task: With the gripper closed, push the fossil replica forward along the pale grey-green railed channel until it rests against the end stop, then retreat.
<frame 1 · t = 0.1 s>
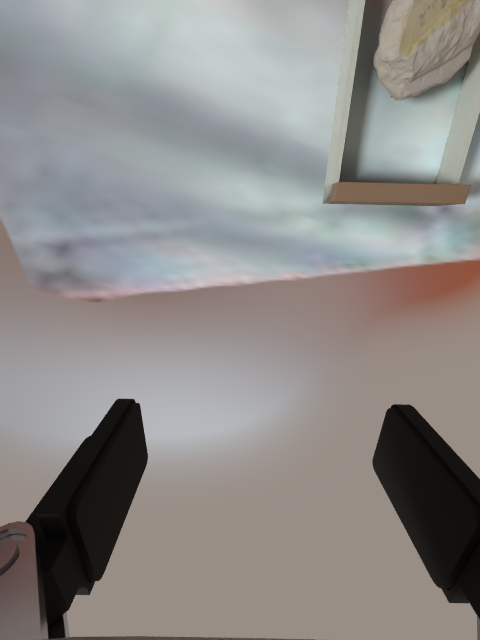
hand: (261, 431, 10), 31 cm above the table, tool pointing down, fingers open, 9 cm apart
channel: (400, 101, 31), on the table
fossil replica: (408, 54, 29), on the table
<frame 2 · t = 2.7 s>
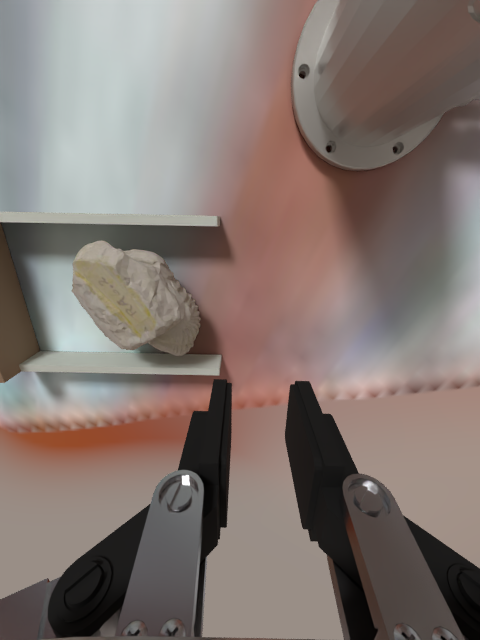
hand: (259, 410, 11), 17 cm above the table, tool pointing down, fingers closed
channel: (112, 294, 27), on the table
fossil replica: (155, 294, 27), on the table
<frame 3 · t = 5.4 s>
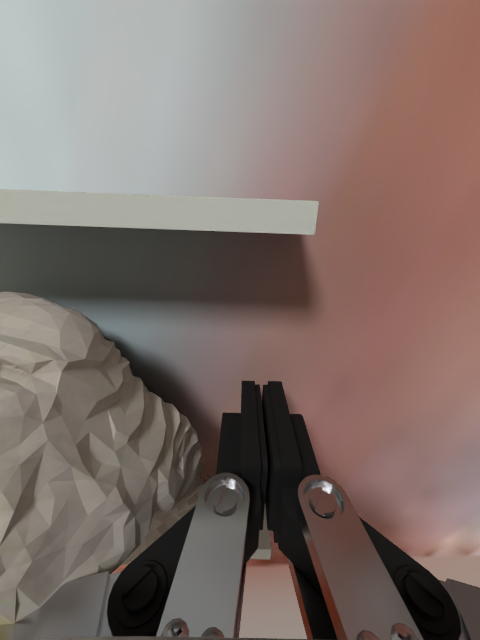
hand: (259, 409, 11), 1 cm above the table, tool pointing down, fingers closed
channel: (35, 377, 12), on the table
fossil replica: (103, 376, 12), on the table
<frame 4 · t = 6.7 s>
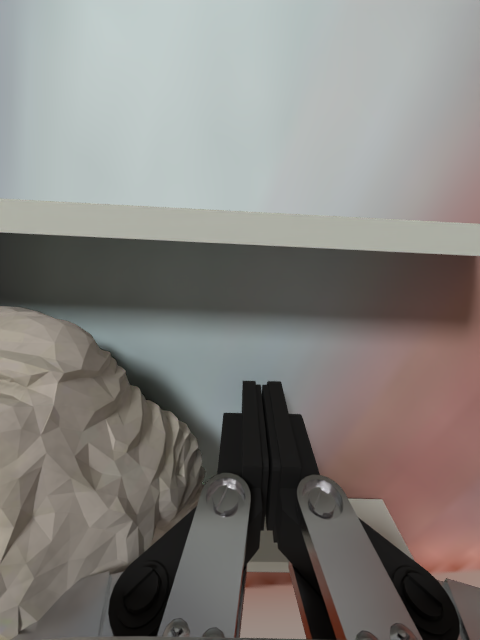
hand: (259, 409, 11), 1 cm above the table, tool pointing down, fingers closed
channel: (178, 391, 12), on the table
fossil replica: (100, 387, 12), on the table, touching channel, gripper
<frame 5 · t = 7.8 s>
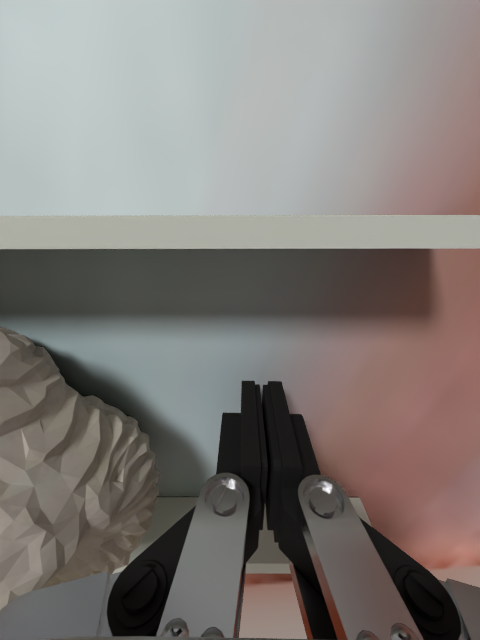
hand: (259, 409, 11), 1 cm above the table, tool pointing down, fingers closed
channel: (140, 396, 12), on the table
fossil replica: (65, 393, 12), on the table, touching channel
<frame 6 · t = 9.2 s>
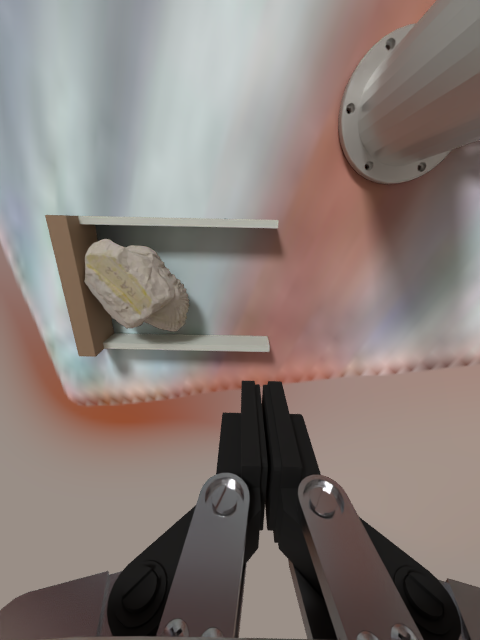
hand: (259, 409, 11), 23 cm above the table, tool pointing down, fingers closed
channel: (180, 284, 32), on the table
fossil replica: (151, 283, 32), on the table
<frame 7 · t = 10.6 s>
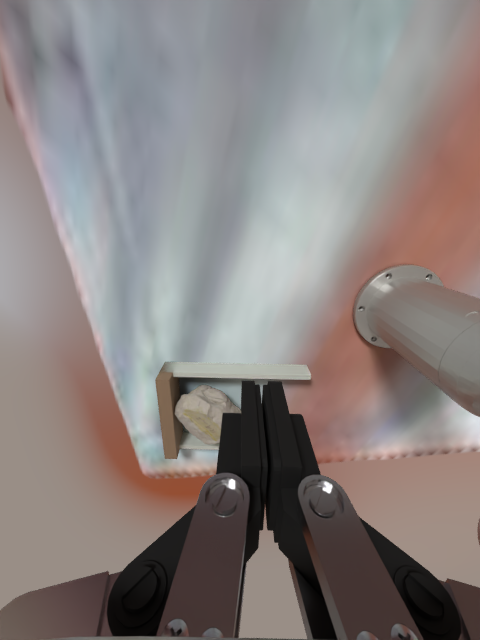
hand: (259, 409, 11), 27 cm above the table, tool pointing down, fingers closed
channel: (235, 402, 44), on the table
fossil replica: (214, 400, 44), on the table
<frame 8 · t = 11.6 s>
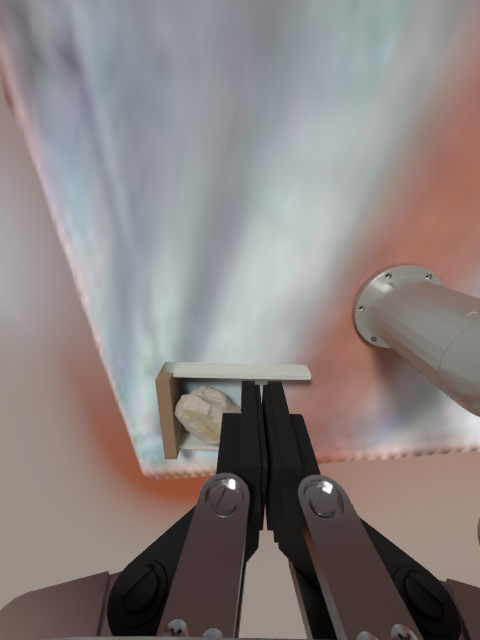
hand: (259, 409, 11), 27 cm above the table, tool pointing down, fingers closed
channel: (235, 402, 44), on the table
fossil replica: (214, 401, 44), on the table
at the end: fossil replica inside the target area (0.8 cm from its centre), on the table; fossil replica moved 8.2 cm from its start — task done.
